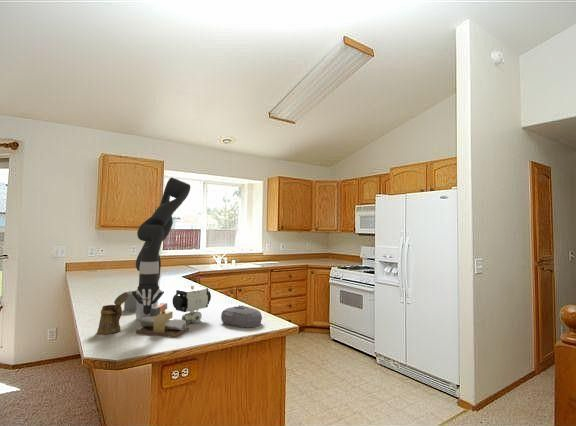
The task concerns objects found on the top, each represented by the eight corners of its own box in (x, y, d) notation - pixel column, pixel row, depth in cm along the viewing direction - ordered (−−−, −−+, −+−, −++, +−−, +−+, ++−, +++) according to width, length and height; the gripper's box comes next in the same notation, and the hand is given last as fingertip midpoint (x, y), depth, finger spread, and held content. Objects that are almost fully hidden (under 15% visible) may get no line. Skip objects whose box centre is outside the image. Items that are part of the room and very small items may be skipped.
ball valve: (181, 327, 153) (182, 289, 154) (171, 324, 158) (172, 287, 159) (212, 319, 167) (213, 284, 168) (202, 317, 172) (202, 282, 173)
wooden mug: (115, 337, 139) (116, 293, 140) (92, 333, 144) (94, 291, 145) (132, 331, 147) (133, 290, 148) (109, 328, 152) (111, 288, 153)
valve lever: (161, 308, 148) (161, 302, 149) (168, 308, 148) (168, 302, 149) (148, 316, 135) (149, 309, 135) (156, 316, 135) (157, 309, 135)
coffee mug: (132, 312, 182) (133, 294, 182) (120, 310, 186) (120, 292, 186) (151, 307, 194) (152, 290, 194) (139, 306, 198) (140, 289, 199)
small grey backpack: (217, 324, 159) (249, 331, 149) (217, 307, 160) (249, 312, 149) (237, 317, 172) (268, 323, 162) (237, 301, 173) (268, 306, 162)
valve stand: (135, 333, 144) (136, 310, 145) (150, 327, 154) (151, 306, 154) (175, 337, 139) (176, 313, 139) (188, 330, 148) (189, 308, 149)
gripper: (129, 273, 134) (127, 316, 133) (162, 273, 135) (160, 316, 134) (136, 270, 142) (134, 311, 141) (167, 271, 143) (166, 312, 141)
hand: (147, 314), depth 137 cm, fingers closed
